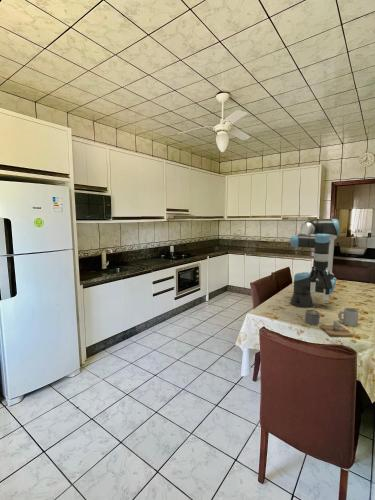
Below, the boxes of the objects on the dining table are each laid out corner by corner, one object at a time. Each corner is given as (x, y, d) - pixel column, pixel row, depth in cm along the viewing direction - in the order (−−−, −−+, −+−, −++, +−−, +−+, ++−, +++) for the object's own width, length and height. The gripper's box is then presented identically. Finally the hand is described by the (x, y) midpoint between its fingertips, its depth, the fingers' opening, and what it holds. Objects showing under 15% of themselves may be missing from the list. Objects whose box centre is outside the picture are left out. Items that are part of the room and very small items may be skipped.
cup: (357, 328, 149) (358, 313, 148) (337, 324, 154) (338, 310, 153) (357, 323, 155) (358, 309, 154) (338, 320, 160) (338, 306, 159)
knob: (303, 320, 160) (304, 308, 159) (315, 320, 160) (316, 308, 159) (308, 325, 153) (309, 313, 152) (320, 325, 153) (321, 313, 152)
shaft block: (319, 327, 150) (320, 317, 149) (341, 327, 150) (341, 317, 149) (330, 336, 138) (331, 325, 138) (353, 337, 138) (354, 326, 137)
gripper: (303, 257, 162) (302, 290, 165) (327, 264, 137) (325, 303, 140) (315, 256, 162) (313, 289, 165) (341, 264, 137) (338, 302, 140)
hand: (318, 296), depth 152 cm, fingers open, 13 cm apart
